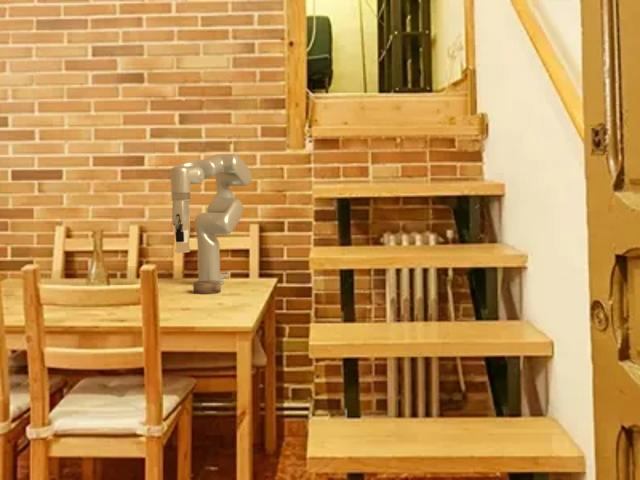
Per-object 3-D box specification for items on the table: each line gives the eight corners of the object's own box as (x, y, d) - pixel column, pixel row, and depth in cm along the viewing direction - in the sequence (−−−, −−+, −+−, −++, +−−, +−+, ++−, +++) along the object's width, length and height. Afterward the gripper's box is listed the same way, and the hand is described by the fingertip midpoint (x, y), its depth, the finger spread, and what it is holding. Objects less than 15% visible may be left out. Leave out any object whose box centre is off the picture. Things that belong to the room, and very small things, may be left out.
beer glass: (170, 252, 291) (169, 215, 289) (180, 250, 297) (179, 214, 296) (184, 253, 288) (183, 216, 286) (194, 251, 294) (193, 215, 293)
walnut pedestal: (209, 289, 301) (209, 279, 300) (226, 291, 293) (225, 282, 293) (188, 292, 293) (187, 282, 292) (204, 295, 285) (204, 285, 285)
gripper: (177, 196, 299) (179, 238, 301) (165, 198, 282) (167, 243, 284) (195, 196, 298) (196, 238, 300) (184, 198, 281) (185, 243, 283)
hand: (182, 240), depth 292 cm, fingers closed on beer glass, 6 cm apart
